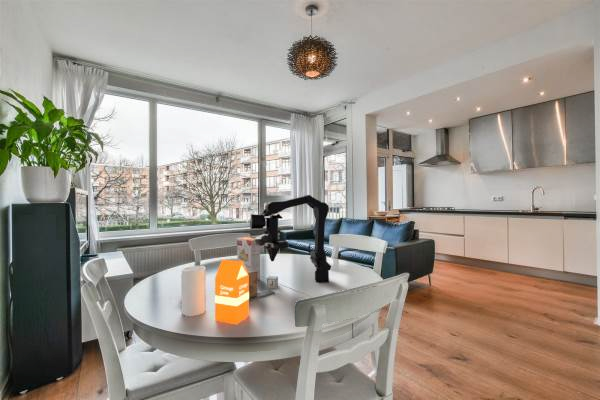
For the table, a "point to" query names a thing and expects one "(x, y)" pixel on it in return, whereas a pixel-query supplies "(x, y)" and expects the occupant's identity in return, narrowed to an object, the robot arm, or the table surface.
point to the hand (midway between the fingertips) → (272, 261)
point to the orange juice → (231, 292)
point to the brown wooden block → (253, 283)
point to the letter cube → (272, 281)
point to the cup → (193, 290)
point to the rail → (262, 294)
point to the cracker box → (249, 254)
